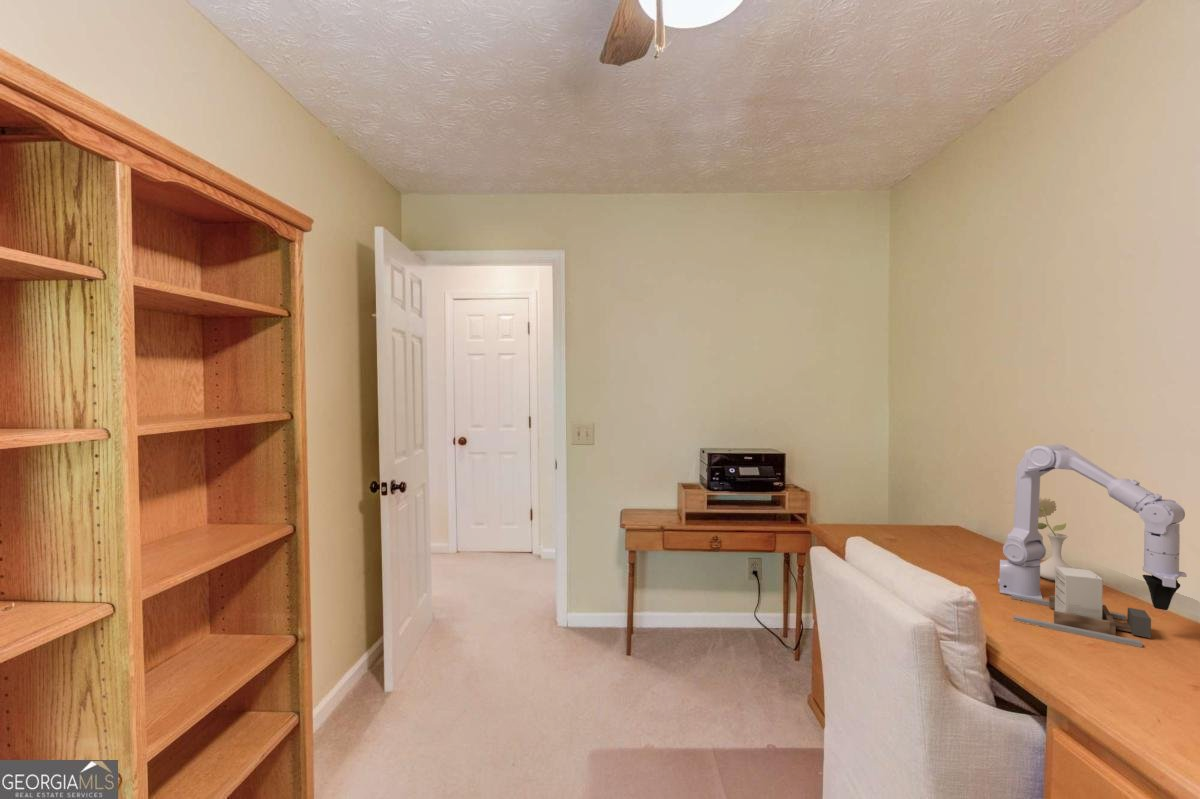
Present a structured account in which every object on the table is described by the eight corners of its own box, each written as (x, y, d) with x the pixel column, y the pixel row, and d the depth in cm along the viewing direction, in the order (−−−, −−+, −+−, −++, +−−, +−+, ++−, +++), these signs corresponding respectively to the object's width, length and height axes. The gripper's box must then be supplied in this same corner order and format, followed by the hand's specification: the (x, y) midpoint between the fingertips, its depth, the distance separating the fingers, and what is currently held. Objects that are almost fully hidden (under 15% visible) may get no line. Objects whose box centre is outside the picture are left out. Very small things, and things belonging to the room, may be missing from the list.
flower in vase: (1076, 577, 165) (1077, 497, 164) (1084, 588, 155) (1086, 504, 155) (1023, 569, 172) (1024, 493, 171) (1028, 580, 162) (1029, 499, 162)
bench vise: (1054, 623, 131) (1054, 605, 131) (1049, 606, 142) (1049, 589, 142) (1154, 643, 121) (1154, 624, 121) (1140, 623, 131) (1141, 605, 131)
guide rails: (1013, 621, 133) (1013, 617, 133) (1010, 597, 149) (1011, 593, 149) (1142, 647, 120) (1142, 643, 120) (1124, 618, 135) (1124, 614, 135)
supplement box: (1090, 618, 135) (1091, 569, 135) (1103, 630, 129) (1104, 579, 128) (1053, 613, 138) (1054, 565, 138) (1064, 624, 132) (1065, 574, 131)
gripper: (1196, 562, 116) (1195, 623, 116) (1177, 547, 128) (1176, 602, 128) (1150, 556, 120) (1149, 615, 121) (1136, 542, 132) (1135, 595, 132)
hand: (1160, 608), depth 125 cm, fingers closed
